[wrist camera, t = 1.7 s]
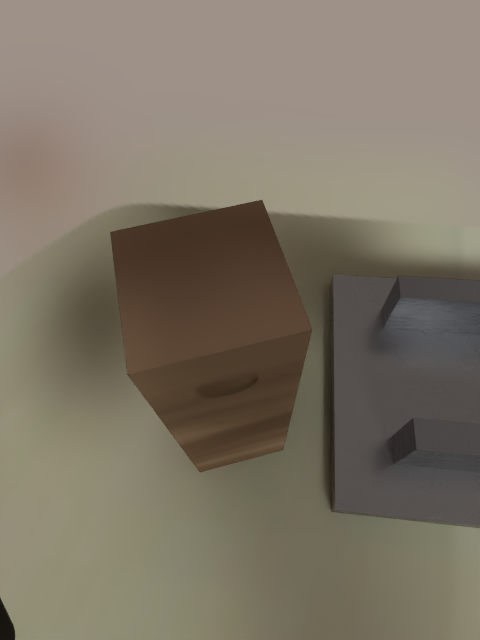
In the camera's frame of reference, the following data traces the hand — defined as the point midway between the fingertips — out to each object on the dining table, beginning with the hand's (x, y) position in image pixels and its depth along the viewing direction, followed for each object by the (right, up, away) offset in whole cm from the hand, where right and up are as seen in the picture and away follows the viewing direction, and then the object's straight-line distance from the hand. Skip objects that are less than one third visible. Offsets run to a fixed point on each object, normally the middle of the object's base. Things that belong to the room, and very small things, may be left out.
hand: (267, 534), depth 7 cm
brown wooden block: (-1, -1, +13) cm, 13 cm away
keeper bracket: (+11, 0, +13) cm, 17 cm away
